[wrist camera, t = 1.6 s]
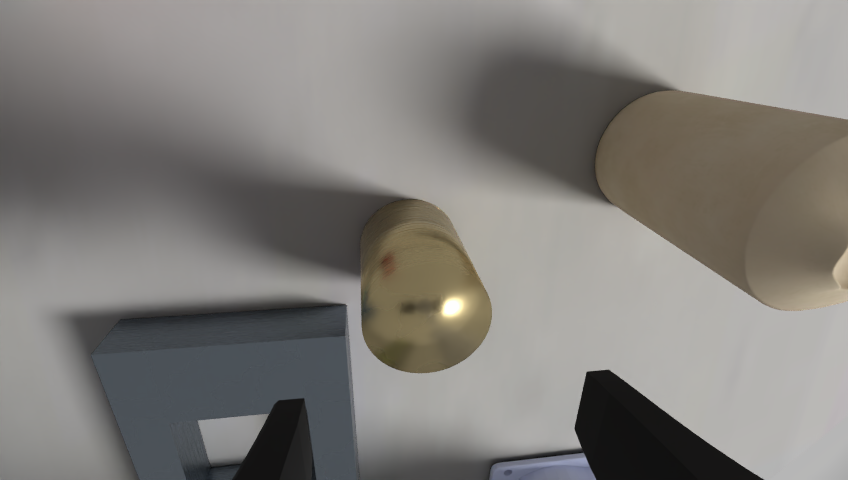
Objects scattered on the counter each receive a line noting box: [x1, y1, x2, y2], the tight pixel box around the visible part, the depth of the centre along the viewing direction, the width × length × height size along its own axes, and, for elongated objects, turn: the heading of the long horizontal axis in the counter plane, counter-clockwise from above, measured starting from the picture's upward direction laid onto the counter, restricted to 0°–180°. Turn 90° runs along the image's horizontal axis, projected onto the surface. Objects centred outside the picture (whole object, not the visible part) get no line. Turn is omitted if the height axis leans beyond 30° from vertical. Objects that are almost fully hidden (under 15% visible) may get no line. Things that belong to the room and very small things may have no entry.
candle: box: [595, 90, 848, 311], centre depth 15 cm, size 6×6×10 cm
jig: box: [91, 305, 360, 480], centre depth 21 cm, size 10×14×4 cm
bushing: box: [360, 199, 492, 373], centre depth 17 cm, size 4×4×6 cm
